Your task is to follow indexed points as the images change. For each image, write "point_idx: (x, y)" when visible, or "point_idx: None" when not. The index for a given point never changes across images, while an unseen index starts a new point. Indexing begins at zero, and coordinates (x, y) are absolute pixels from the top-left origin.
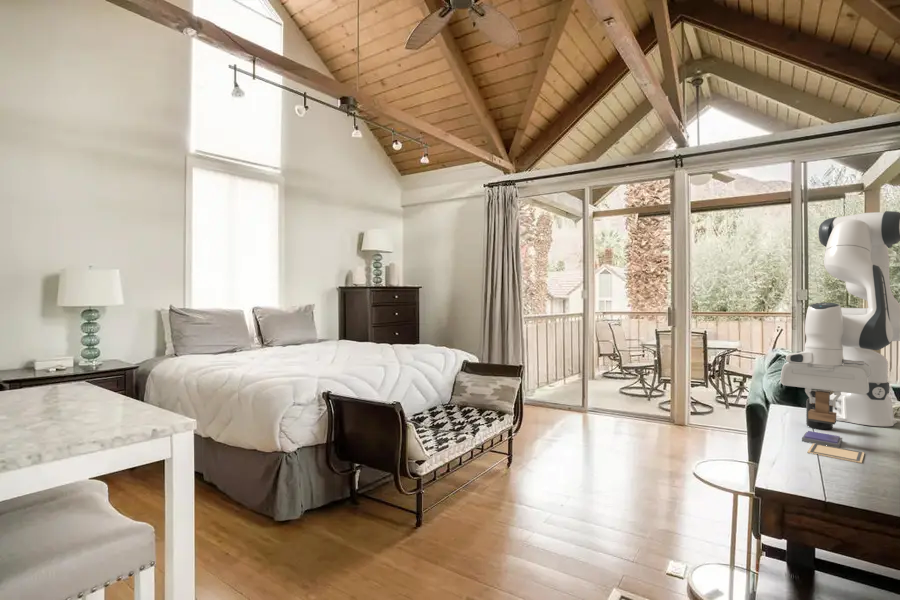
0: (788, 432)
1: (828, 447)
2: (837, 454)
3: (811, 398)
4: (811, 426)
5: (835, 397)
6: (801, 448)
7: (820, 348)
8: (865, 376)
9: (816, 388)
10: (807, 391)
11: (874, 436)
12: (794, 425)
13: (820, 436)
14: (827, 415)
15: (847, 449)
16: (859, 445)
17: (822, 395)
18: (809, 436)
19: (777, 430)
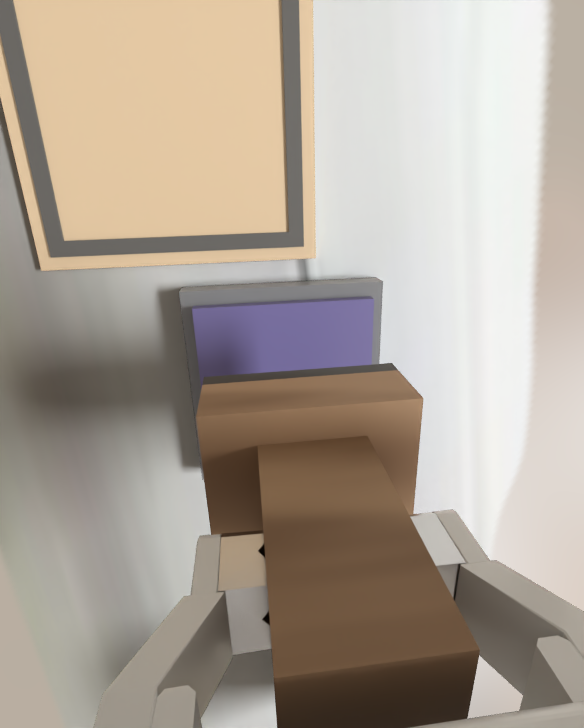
0: (452, 436)
1: (225, 212)
2: (140, 36)
3: (464, 555)
4: None
5: (179, 643)
6: (359, 55)
7: None
8: None
9: (504, 721)
10: (580, 637)
11: (117, 673)
12: None
13: None
14: (258, 406)
15: (127, 252)
16: (118, 449)
17: (356, 607)
18: (347, 316)
19: (503, 434)
